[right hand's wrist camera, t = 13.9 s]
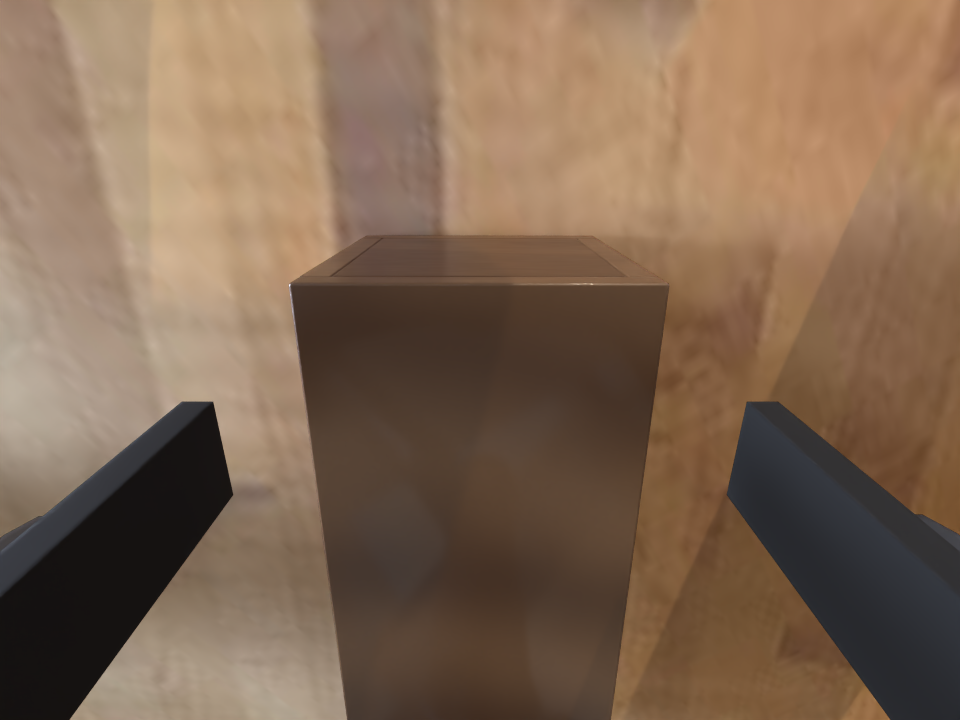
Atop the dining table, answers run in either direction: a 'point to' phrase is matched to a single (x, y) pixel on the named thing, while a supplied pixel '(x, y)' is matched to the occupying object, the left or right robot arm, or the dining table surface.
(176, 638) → the dining table surface
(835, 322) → the dining table surface
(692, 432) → the dining table surface
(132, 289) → the dining table surface
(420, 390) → the cabinet
